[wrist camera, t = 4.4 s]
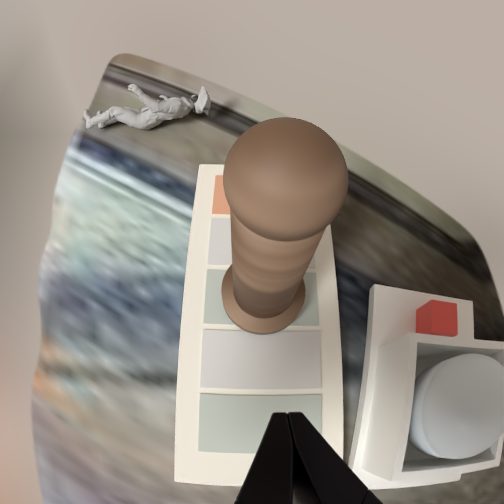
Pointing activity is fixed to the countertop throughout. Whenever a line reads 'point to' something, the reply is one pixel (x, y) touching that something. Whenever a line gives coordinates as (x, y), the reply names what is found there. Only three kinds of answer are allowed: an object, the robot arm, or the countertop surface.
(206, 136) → the countertop surface
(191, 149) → the countertop surface
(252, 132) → the pawn
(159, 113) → the soldier figure
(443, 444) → the dome
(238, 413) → the game track
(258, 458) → the robot arm
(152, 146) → the countertop surface
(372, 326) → the base
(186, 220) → the countertop surface
